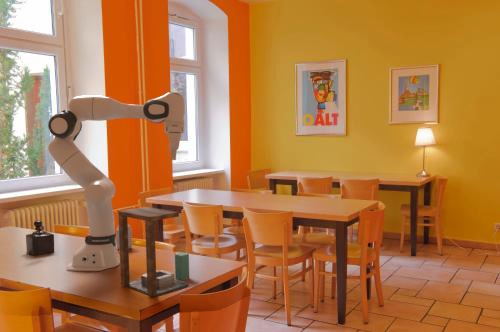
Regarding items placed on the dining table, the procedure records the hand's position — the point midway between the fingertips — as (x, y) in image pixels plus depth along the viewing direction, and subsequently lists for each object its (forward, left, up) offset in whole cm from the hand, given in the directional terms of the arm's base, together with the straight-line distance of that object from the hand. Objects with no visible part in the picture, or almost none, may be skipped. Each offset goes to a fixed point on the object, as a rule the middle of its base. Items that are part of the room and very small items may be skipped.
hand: (173, 160), depth 218 cm
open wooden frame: (-9, -33, -46) cm, 58 cm away
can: (-28, +32, -47) cm, 63 cm away
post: (+3, -23, -47) cm, 53 cm away
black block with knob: (-68, +29, -47) cm, 88 cm away
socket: (-6, -31, -47) cm, 57 cm away
